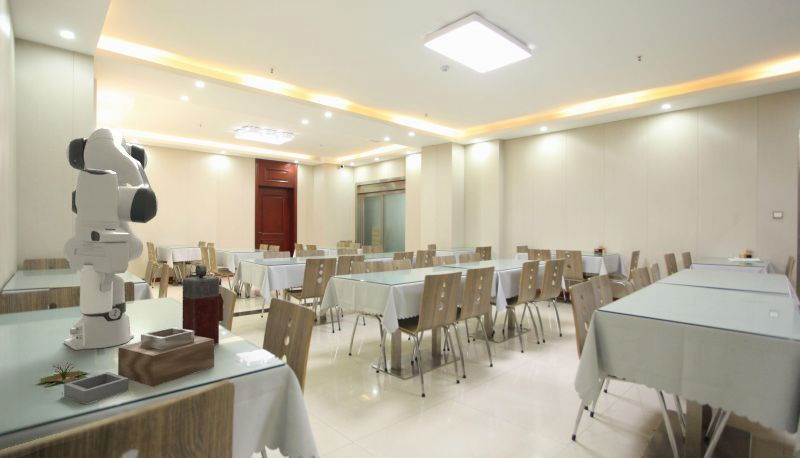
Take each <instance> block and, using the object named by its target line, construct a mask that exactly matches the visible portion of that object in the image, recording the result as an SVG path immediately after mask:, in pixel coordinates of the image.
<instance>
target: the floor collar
mask: <svg viewBox="0 0 800 458" xmlns="http://www.w3.org/2000/svg"><path fill="white" fill-rule="evenodd" d="M86 377H87V376H86ZM129 381H130V380H129V378H126V377H123V376H120V375H118V374H116V373H113V372H109V371H106V372H102V373H99V374H96V375H92V376H91V375H90V376H88V377H87V378H82V379H80V378H79V379H76V380H72V381H71V382H69V383H63V397H65V398H67V399H69V400H73V401H74V402H76V403H79V404H82V405H87V404H90V403H93V402H96V400H97V401H99V400H103V399H106V398H109V397H113V396H114V395H118V394H121V393H125V392H127V390H128V391H129V390H130V389H129V383H130V382H129Z"/></svg>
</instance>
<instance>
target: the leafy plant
mask: <svg viewBox="0 0 800 458" xmlns="http://www.w3.org/2000/svg"><path fill="white" fill-rule="evenodd" d="M68 363H69V362H67V363H66V365H65V367H64V368H62V367H61V365H60V364H59V363H58V364H57V366H56V365H53V366H52V367H53V368H54V370H55V371H54V372H55V374H53V375H49V376H45V377H43V378H42V377H41V378H39V380H40V381H39V382H38V383H36V384H35V385H40V384H43V383H45V388H47V387H50V386H54V385H57V384H61V383H64V384H66V383H69V382H73V381H76V379H79V380H80V379H84V378H87V375H86V374H88V372H87V371H81V370H75V371H72V369H74V368H75V366H72V365H73V363H72V362H70V363H69V364H68ZM61 364H62V365H64V363H63V362H62V363H61ZM71 366H72V367H71ZM70 367H71V368H70ZM69 368H70V369H69ZM58 369H59V370H58ZM66 378H67V379H66ZM75 378H76V379H75ZM55 382H57V383H55Z"/></svg>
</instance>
